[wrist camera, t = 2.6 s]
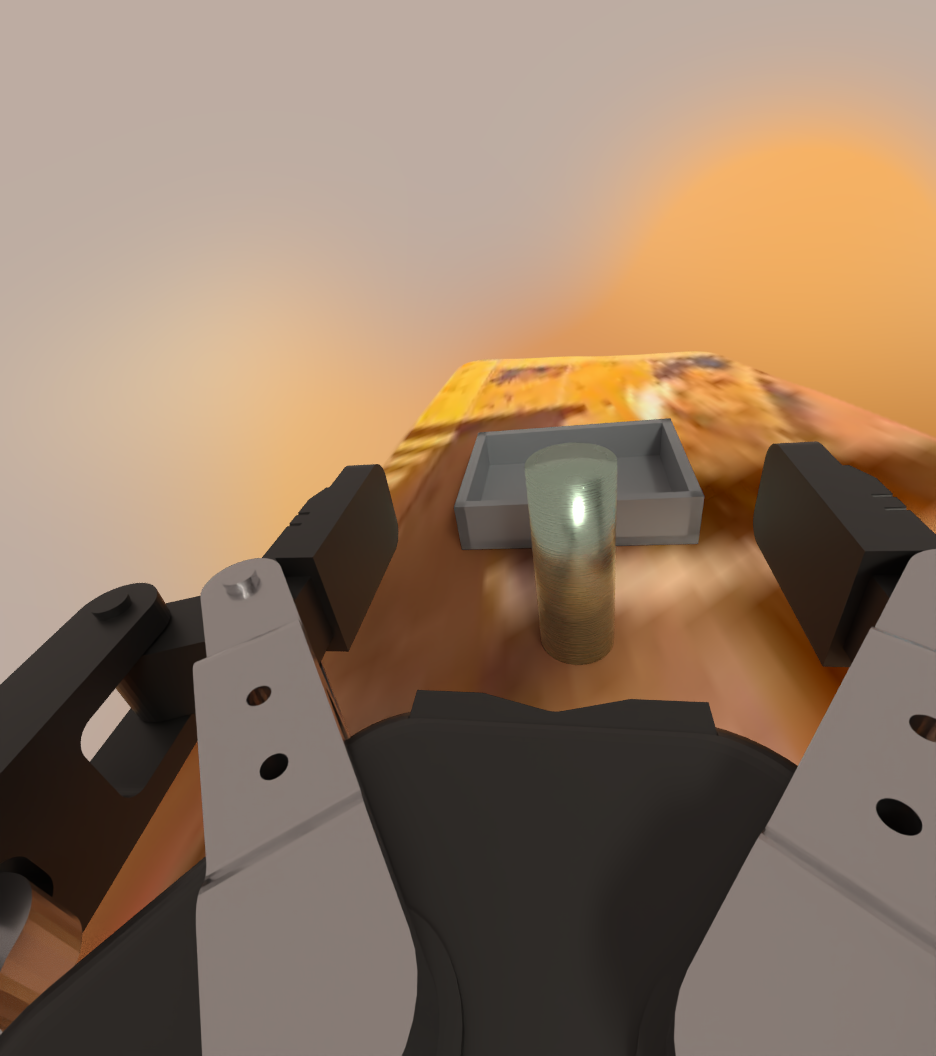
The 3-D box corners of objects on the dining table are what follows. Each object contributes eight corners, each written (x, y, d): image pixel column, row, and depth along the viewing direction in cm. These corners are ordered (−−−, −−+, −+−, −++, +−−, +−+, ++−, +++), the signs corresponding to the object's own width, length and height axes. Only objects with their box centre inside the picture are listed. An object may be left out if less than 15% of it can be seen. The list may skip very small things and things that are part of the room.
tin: (611, 611, 32) (613, 439, 26) (616, 665, 29) (621, 482, 22) (542, 611, 33) (527, 445, 27) (539, 663, 30) (521, 487, 23)
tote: (667, 458, 48) (670, 418, 45) (698, 543, 37) (704, 496, 34) (483, 469, 51) (478, 432, 49) (462, 549, 40) (453, 507, 38)
